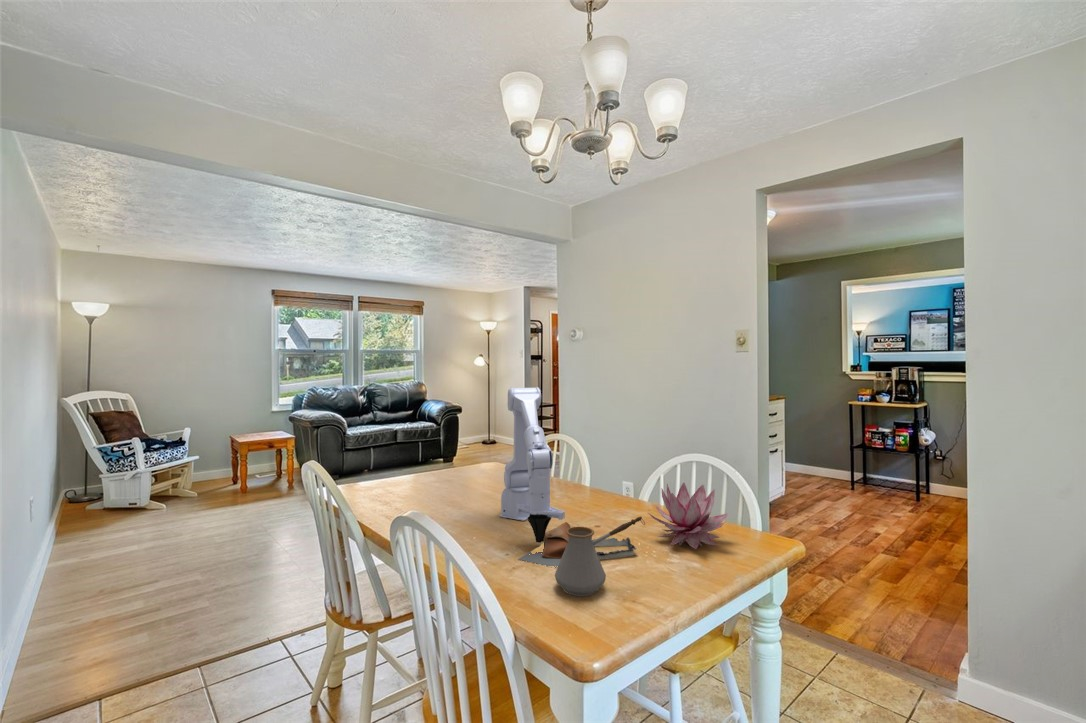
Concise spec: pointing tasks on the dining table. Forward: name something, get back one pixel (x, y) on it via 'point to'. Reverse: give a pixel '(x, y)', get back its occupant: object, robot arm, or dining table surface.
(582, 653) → the dining table surface
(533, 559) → the rubber mat
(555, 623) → the dining table surface
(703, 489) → the decorative flower
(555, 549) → the sunglasses case
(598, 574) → the coffee pot
